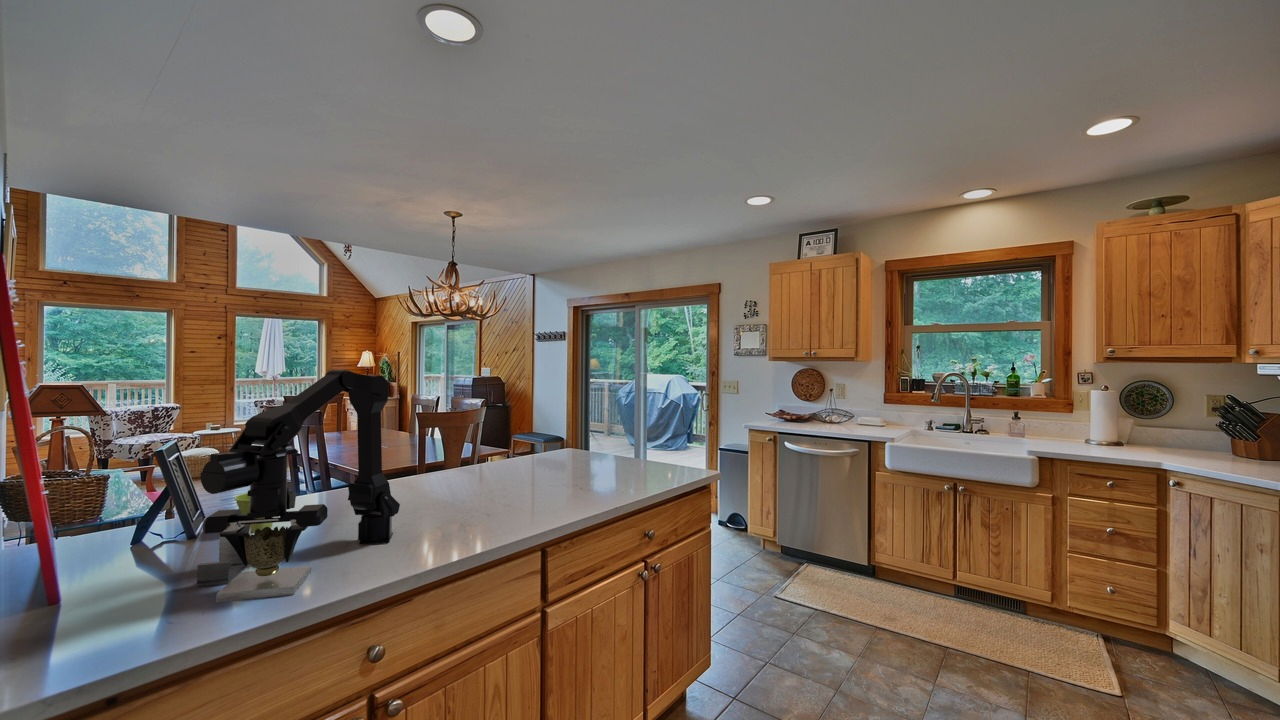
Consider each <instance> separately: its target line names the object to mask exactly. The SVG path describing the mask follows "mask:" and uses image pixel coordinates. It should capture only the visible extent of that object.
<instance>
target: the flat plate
mask: <svg viewBox="0 0 1280 720" xmlns="http://www.w3.org/2000/svg"><path fill="white" fill-rule="evenodd" d="M255 571H256V570H248V571H242V572H240V573H239V574H238V575H237V576H236V577H235V578H234V579H233V580H231V581H230V582H229V583H228V584H225V586H223V588H221V589H220V590H219V591H218V592H217V593H216V603H224V602H234V601H242V600H243V601H244V600H252V599H254V600H255V599H262V598H272V597H283V596H292V595H293V596H294V595H295V594H296V593H297V592H298V590H299V589H300V588H301V587H302V585H303V584H304V582H305V581H306V580H307V579H308V577H309V576H310V575H311V573H312V566H311V565H305V566H296V567H294V566H292V567H284V568H282V567H281V568H279V569H278V571H277V572H276V573H275V574H272V575H269V576H258V575H257V574H256V573H255Z"/></svg>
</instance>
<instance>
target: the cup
mask: <svg viewBox="0 0 1280 720" xmlns="http://www.w3.org/2000/svg"><path fill="white" fill-rule="evenodd" d="M288 528H289V527H288V526H284V525H283V526H281V527H280V528H279V527H278V526H277V525H276V526H275V527H274V528H272V527H271V528H270V527H265V528H263V529H262V530H261V531H260V529H256V530H255V532H253V533H254V534H253V533H251V536H250V534H249V533H246V535H243V537H244V545H245V553H246V558H247V561H248V563H249V566H251V567H252V568H254V569H255V570H254V571H255V573H256V574H257V575H258V576H269V575H272V574H275V573H276V572H277V571H278V569H280V566H279V565H280V564H281V563H283V561H284V560H285V544H286V530H287V529H288Z"/></svg>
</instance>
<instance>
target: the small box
mask: <svg viewBox="0 0 1280 720" xmlns="http://www.w3.org/2000/svg"><path fill="white" fill-rule="evenodd" d="M249 534H250V536H251V534H252V533H251V525H250V529H249ZM218 536H219V535H218ZM218 539H219V543H218V544H219V545H218V562H223V561H231V564H239V563H243V562H242V561H241V559H240V557H239V556H238V554H237V552H236V551H235V549H234V548H233V546H232V545H231V544H230V543H229V541H228V540H227V539H226V538H225V537H220V536H219V538H218Z"/></svg>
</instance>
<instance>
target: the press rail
mask: <svg viewBox="0 0 1280 720" xmlns="http://www.w3.org/2000/svg"><path fill="white" fill-rule="evenodd" d="M196 566H197V567H196V571H197V572H196V574H197V575H196V587H204V586H205V587H206V586H216V585H227V584H228V583H229V582H230V581H231V580H233V579H234V578H235V577H236V576H237V575H238V574H239V573H240V572H244V570H245V569H246V568H247V567H248V566H250V564H248V565H247V566H244V564H243V563H239V564H231V561H223V562H219V561H214V562H212V561H211V562H200V563H198V564H197V565H196Z"/></svg>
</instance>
